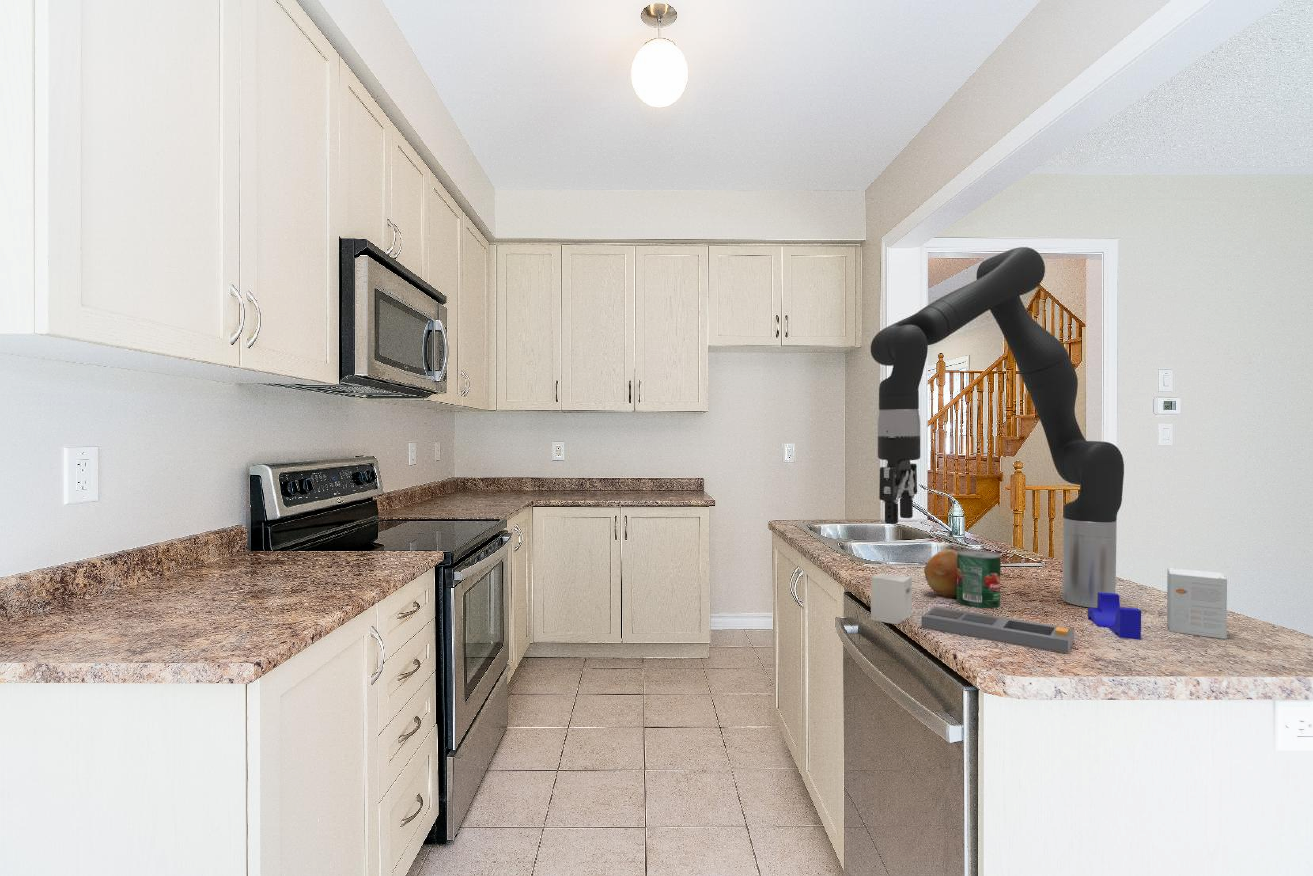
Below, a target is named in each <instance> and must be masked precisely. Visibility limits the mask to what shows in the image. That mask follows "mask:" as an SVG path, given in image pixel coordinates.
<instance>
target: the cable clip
mask: <svg viewBox="0 0 1313 876" xmlns="http://www.w3.org/2000/svg"><path fill="white" fill-rule="evenodd" d="M1120 601H1121V600H1120V595H1119V594H1118V593H1116V594H1115V593H1101V592H1098V597H1097V608H1091V607H1087V620H1088V621H1091V622H1092V623H1093V624H1095V626H1096V627H1098V628H1107V629H1109V630H1110V631H1111V632H1113V633H1114V634H1115V635H1118V638H1120V639H1128V640H1129V639H1130V640H1141V639H1142V610H1141V609H1140V608H1138V607H1137V608H1136V607H1125V606H1121V604H1120Z"/></svg>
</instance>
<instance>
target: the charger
mask: <svg viewBox="0 0 1313 876" xmlns="http://www.w3.org/2000/svg"><path fill="white" fill-rule="evenodd" d="M912 579H913V578H912V577H911V576H903V575H895V574H889V573H888V574H887V573H877V574H875V575H872V576H870V582H871V583H870V585H871V586H870V620H871V621H876V622H881V623H887V624H892V625H898V624H900V623H901V622H903V621H904V620H907V618H909V617H910V616H912Z"/></svg>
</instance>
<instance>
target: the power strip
mask: <svg viewBox="0 0 1313 876" xmlns="http://www.w3.org/2000/svg"><path fill="white" fill-rule="evenodd" d="M921 628H922V629H926V630H932V631H938V632H943V633H949V634H955V635H959V636H965V637H971V638H976V639H977V638H978V639H983V640H986V641H987V640H988V641H992V642H993V641H994V642H999V643H1004V644H1011V645H1016V646H1021V647H1028V648H1033V649H1037V650H1043V651H1049V652H1053V653H1054V652H1055V653H1061V654H1065V655H1066V654H1067V655H1068V654H1069V653H1070V651H1071V649H1072V647H1073V645H1074V642H1075V628H1072V627H1067V626H1065V627H1064V626H1059V625H1053V624H1047V623H1040V622H1034V621H1028V620H1022V619H1016V618H1008V617H1004V616H999V615H997V616H996V615H992V614H991V615H990V614H983V613H979V612H977V613H976V612H974V611H973V612H972V611H965V610H958V609H952V608H948V607H947V608H946V607H941V606H933V607H932V608H930V609H929V610H928V611H927V612H925V613H924V614H922V615H921Z"/></svg>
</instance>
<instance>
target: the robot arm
mask: <svg viewBox="0 0 1313 876" xmlns="http://www.w3.org/2000/svg"><path fill="white" fill-rule="evenodd" d="M1045 274H1046V265H1045V262H1044V259H1043V257H1042V255H1041V254H1040V253H1039V252H1038V251H1037V250H1036V249H1034V248H1031V247H1026V246H1019V247H1015V248H1012V249H1008V250H1006V251H1004V252H1001V253H999V254H997V255H994V256H992V257H990V258H989V257H988V258H987V259H985V260H983V261H982V262H980V264H979V265H978V268H977V270H976V279H975V280H974V281H972V282H970V283H968V284H966V285H963V286H962V287H960V288H957V289H954V290H953V291H951V292H949V293H947V294H946V295H943V296H942V297H940V298H938V299H935V301H932V302H931V303H930V304H927V305H926V306H924V307H923V308H922V309H920V310H919V311H917V312H915V313H914V314H912V315H911V316H910V315H909V316H907V317H906V318H902V319H901V320H898V321H897V322H895V323H892V324H890V325H888V326H886V327H885V328H883V329H881V330H880V331H878V332H877V333H876V334H875V336H873V338H872V341H871V344H870V354H871V357H872V358H873V360H874V361H875V362H876V363H878V364H879V365H882V366H886V367H892V368H891V369H892V370H891V373H890V375H889V376H888V378H885V379H883V380H882V381H881V382H880V384H879V387H878V416H877V458H878V459H879V460H882V461H886V462H887V463H886V466H880V468H879V491H878V492H879V495H878V498H879V500H880V501H882V503H883V504H884V522H885V524H889V525H896V524H898V523H899V517H900V518H902V519H912V518H913V515H914V511H913V510H914V509H913V506H914V505H913V504H914V503H913V500H914V498H915V495H917V494H918V474H917V473H918V472H917V468H918V464H917V463H911V461H918V460H919V459H920V458H921V418H920V410H919V409H920V401H919V400H920V399H919V398H920V397H919V395H920V394H919V391H920V390H919V389H920V384H921V382H922V381H921V380H922V378H923V377H922V376H923V374H924V369H925V366H926V361H927V357H928V352H929V349H928V346H931V345H935V344H937V343H940V342H942V341H943V340H945V339H946V338H948V337H949V336H950V335H952V334H954V333H955V332H957V331H959V330H960V329H961V328H963V327H965V326H966V325H967V324H969V323H971V322H972V321H973V320H975V319H977V318H978V317H980V316H981V315H983V314H984V313H986V312H988V311H990V313H991V315H992V316H993V318H994V320H995V321H996V324H997V325H998V328H999V329H1000V331H1001V333H1002V335H1003V338H1004V340H1005V342H1006V344H1007V345H1008V348H1009V350H1010V353H1011V354H1012V357H1013V359H1014V362H1015V364H1016V366H1017V369H1018V372H1019V374H1020V377H1021V379H1022V382H1023V383H1024V386H1025V389H1026V390H1027V392H1028V394H1029V397H1030V399H1031V401H1032V403H1033V406H1034V408H1035V412H1036V414H1037V417H1038V418H1039V421H1040V423H1041V426H1042V428H1043V431H1044V434H1045V438H1046V441H1047V444H1048V448H1049V453H1050V455H1051V458H1052V461H1053V465H1054V467H1055V470H1056V471H1057V474H1058V475H1059V477H1061V479H1062V480H1064V481H1065V482H1066V483H1069V484H1072V485H1078V486H1080V487H1079V494H1078V497H1077V498H1076V499H1074V500H1073V501H1070V502H1067V503H1065V504H1064V505H1063V512H1062V514H1063V515H1062V517H1063V521H1062V525H1063V527H1062V529H1063V530H1062V531H1063V533H1062V538H1063V539H1062V581H1061V583H1062V585H1061V586H1062V587H1061V589H1062V590H1061V591H1062V592H1061V594H1062V595H1061V596H1062V597H1061V599H1062V601H1063V602H1065V603H1068V604H1071V605H1075V606H1078V607H1086V608H1097V597H1098V592H1101V593H1115V594H1117V593H1116V591H1117V590H1116V588H1117V586H1116V585H1117V538H1118V537H1117V536H1118V535H1117V533H1118V532H1117V527H1118V526H1117V524H1118V523H1117V519H1118V518H1117V517H1118V513H1119V510H1120V508H1121V506H1122V503H1123V489H1124V477H1125V462H1124V457H1123V454H1122V452H1121V451H1120V448H1119V447H1117V445H1115V444H1113V443H1111V442H1108V441H1101V440H1100V441H1099V440H1098V441H1097V440H1086V438H1085V436H1084V434H1083V432H1082V431H1081V429H1080V426H1079V423H1078V421H1077V417H1076V410H1075V408H1076V401H1077V396H1078V387H1079V383H1078V382H1079V380H1078V379H1079V378H1078V375H1077V372H1076V369H1075V367H1074V366H1075V365H1074V364H1073V362H1072V360H1071V357H1070V354H1069V353H1068V350H1067V348H1066V347H1065V345H1064V344H1063V343H1062V342H1061V341H1060V340H1059V339H1058V338H1057V337H1056V336H1055V335H1053V334H1052V333H1050V332H1049V331H1048V330H1047V329H1045V327H1043V326H1042V325H1040V324H1039V323H1038V322H1037V321H1035V320H1034V318H1033V317H1032V316H1031V315H1030V313H1029V312H1028V311H1027V309H1026V307H1025V304H1024V303H1023V301H1022V299H1021V297H1020V296H1023V295H1027V294H1028V293H1030V292H1032V291H1034V290H1035V289H1037V288H1038V286H1040V284H1041V283H1042V282H1043V279H1044V278H1045Z"/></svg>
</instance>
